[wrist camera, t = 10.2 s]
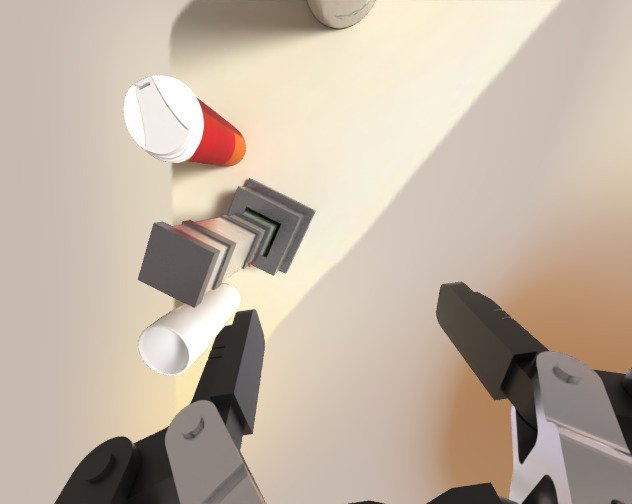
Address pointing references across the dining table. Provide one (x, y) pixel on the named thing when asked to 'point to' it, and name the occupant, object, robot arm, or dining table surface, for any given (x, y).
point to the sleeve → (282, 211)
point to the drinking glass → (187, 331)
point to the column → (202, 253)
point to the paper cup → (179, 124)
